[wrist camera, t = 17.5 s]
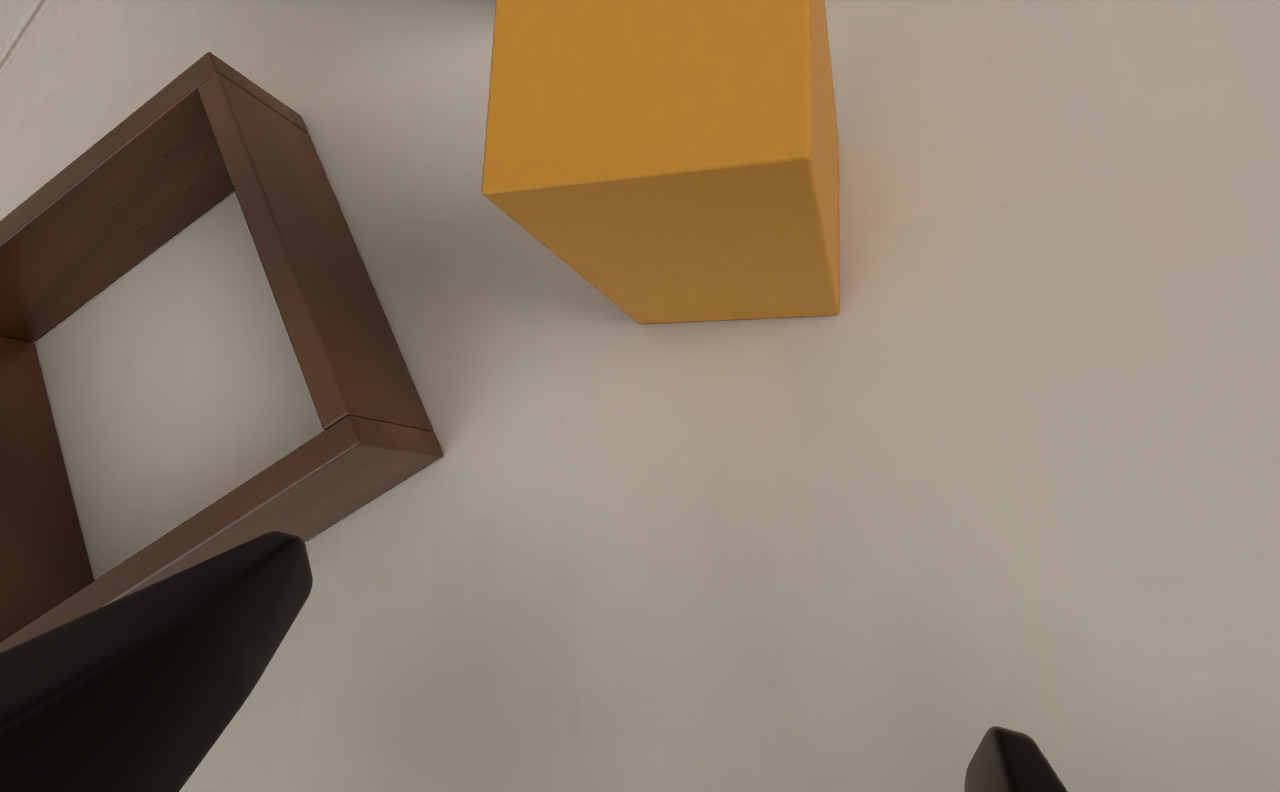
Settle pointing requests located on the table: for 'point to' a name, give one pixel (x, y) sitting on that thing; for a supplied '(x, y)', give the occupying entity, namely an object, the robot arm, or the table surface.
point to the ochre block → (672, 151)
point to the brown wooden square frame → (303, 289)
